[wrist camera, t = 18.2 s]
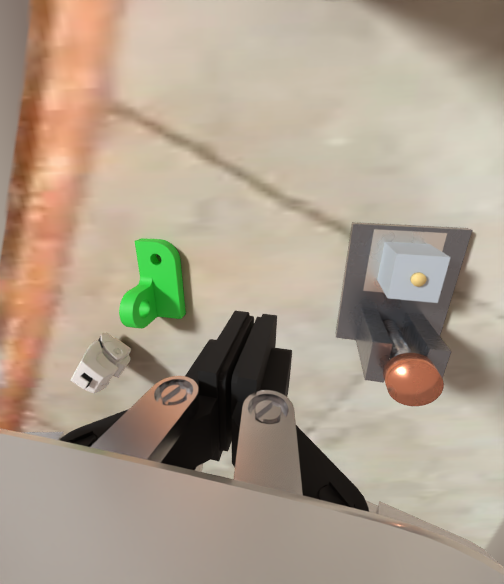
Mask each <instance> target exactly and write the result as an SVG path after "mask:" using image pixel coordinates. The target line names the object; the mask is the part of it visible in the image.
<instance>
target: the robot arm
mask: <svg viewBox="0 0 504 584" xmlns="http://www.w3.org/2000/svg"><path fill="white" fill-rule="evenodd" d="M276 326H277V315H268V314H263V315H262V317H257V318H256V321H255V323H254V317H253V316H249V312H242V311H235V312H234V313H233V315H232V316H231V318H230V320H229V321H228V323H227V324H226V326H225V328H224V329H223V331H222V332H221V334H220V336H219V337H218V339H217V340H213V339H211V340H209V341H208V343H207V344H206V346H205V347H204V349H203V350H202V352H201V353H200V355H199V356H198V358H197V359H196V361H195V362H194V364H193V365H192V367H191V368H190V370H189V371H188V373H187V374H186V376H172V377H168V378H165V379H163V380H161V381H159V382H158V383H156V384H155V385H154V386H153V387H152V388H151V389H150V390H148V391H147V392H146V393H145V394H144V395H143V396H142V397H141V398H140V399H139V400H138V401H137V402H136V403H135V404H134V405H133V406H132V407H131V408H130V409H128V410H125V411H123V412H120V413H117V414H115V415H112V416H109V417H107V418H104V419H101V420H99V421H96V422H93V423H91V424H88V425H85V426H83V427H80V428H78V429H76V430H73V431H71V432H69V433H68V434H66V435H65V436H64V433H63V432H16V431H11V430H6V429H1V428H0V584H504V567H503V566H501V565H500V564H499V563H498V562H497V561H496V560H495V559H494V558H493V557H492V556H491V555H490V554H488V552H486V551H485V550H484V549H483V548H481V547H479V546H478V545H476V544H474V543H473V542H471V541H469V540H467V539H464V538H462V537H460V536H458V535H455V534H453V533H451V532H448V531H446V530H444V529H442V528H439V527H437V526H435V525H432V524H430V523H428V522H426V521H423V520H421V519H419V518H416V517H414V516H412V515H410V514H407V513H405V512H403V511H401V510H398V509H396V508H394V507H391V506H389V505H387V504H385V503H382V502H380V501H379V504H378V506H377V505H375V504H373V503H370V502H368V501H366V500H365V498H364V496H363V495H362V494H361V493H360V491H359V490H358V489H357V487H356V486H355V485H354V484H353V483H352V482H351V481H350V480H349V479H348V478H347V477H346V476H345V475H344V474H343V473H342V472H341V471H340V470H339V469H338V468H337V467H336V466H335V465H334V464H333V463H332V462H331V461H330V460H329V459H328V457H327V456H326V455H325V454H324V453H323V452H322V451H321V450H320V449H319V448H318V447H317V446H316V445H315V444H314V443H313V442H312V441H311V440H310V439H309V438H308V437H307V436H306V435H305V434H304V433H303V432H302V431H301V430H300V429H299V428H298V427H297V425H296V422H295V412H294V407H293V404H292V402H291V401H290V400H289V398H287V395H288V388H289V379H290V370H291V358H292V350H287V349H280V348H275V343H276ZM231 441H232V464H233V465H234V467H235V471H234V479H229V478H225V477H221V476H216V475H212V474H207V473H203V472H202V469H203V463H205V462H206V461H208V460H210V459H211V460H216V461H219V460H220V457H221V454H222V451H228V450H229V447H230V444H231Z"/></svg>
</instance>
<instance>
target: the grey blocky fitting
mask: <svg viewBox="0 0 504 584" xmlns="http://www.w3.org/2000/svg"><path fill="white" fill-rule="evenodd" d="M130 351H131V348H130V347H128V346H127V345H125V344H124V343H123V342H121V341H120V340H119V339H117V338H113V337H112V336H111V335H109V334H108V333H103V334H102V335H101V336H100V338H99V340H96V341H95V342H93V343H92V344H91V345H90V346H89V348H88V349H87V351H86V352H85V354H84V356H83V358H82V360H81V362H80V363H79V365H78V367H77V369H76V371H75V372H74V374H73V376H72V378H71V381H72V382H73V383H75V384H76V385H78V386H79V387H81V388H83V389H85V390H87V391H89V392H92V393H96V392H98V391H101V390H102V389H104V388H105V387H107V385H108V384H109V381H110V379H111V378H112V376H115V377H118V378H119V376H120V375H121V374H122V372H123V371H124V369H125V368H126V366H127V365H128V363H129V362H130V356H129V353H130Z"/></svg>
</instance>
